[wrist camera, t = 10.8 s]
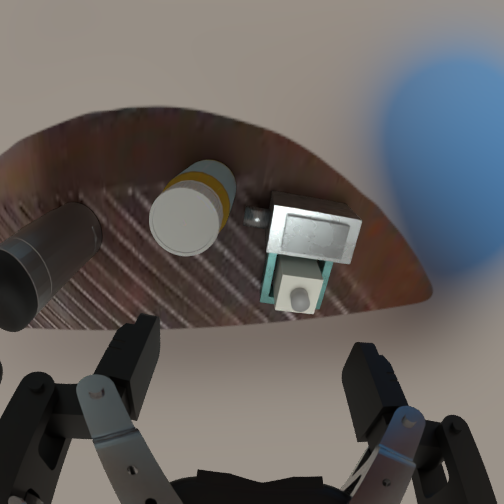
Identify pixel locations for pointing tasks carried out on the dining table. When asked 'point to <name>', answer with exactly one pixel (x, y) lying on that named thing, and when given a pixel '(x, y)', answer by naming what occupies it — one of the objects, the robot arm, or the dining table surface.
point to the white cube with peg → (296, 284)
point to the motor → (304, 234)
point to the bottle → (193, 208)
